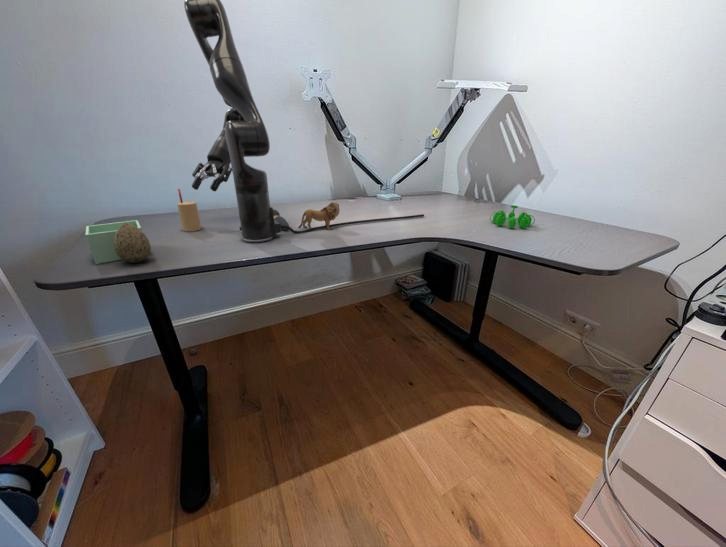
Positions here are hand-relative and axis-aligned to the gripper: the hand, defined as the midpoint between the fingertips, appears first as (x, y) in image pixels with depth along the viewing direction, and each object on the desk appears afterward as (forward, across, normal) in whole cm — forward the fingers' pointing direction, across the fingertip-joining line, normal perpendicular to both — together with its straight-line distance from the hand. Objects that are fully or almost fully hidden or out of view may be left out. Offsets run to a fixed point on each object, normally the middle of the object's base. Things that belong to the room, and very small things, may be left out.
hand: (203, 189), depth 109 cm
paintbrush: (+3, +24, +15) cm, 29 cm away
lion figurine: (+1, +40, +17) cm, 43 cm away
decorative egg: (+34, +13, -16) cm, 40 cm away
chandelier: (-22, +102, +40) cm, 111 cm away
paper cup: (+14, 0, +4) cm, 15 cm away
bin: (+32, +4, -15) cm, 36 cm away
